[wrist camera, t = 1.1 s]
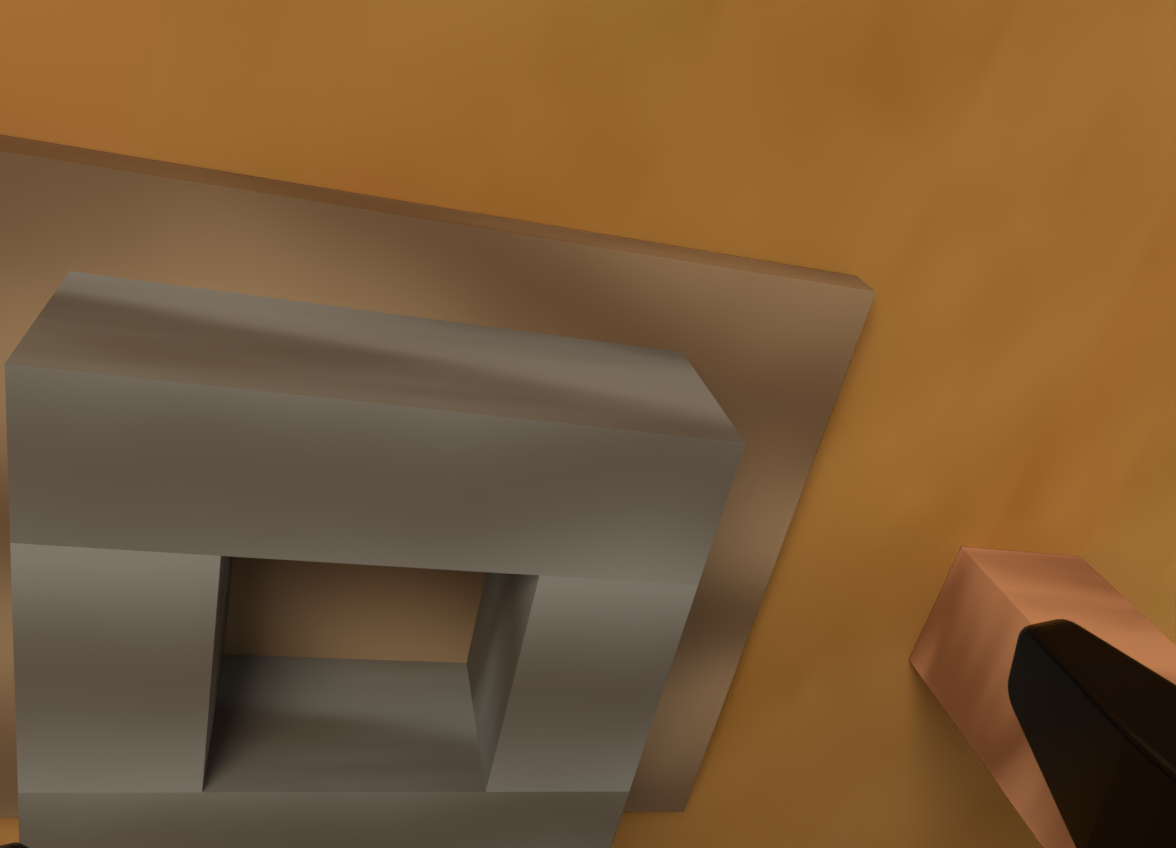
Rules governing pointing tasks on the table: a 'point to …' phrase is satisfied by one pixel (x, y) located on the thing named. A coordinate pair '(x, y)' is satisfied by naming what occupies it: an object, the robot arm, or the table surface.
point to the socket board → (471, 275)
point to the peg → (986, 648)
